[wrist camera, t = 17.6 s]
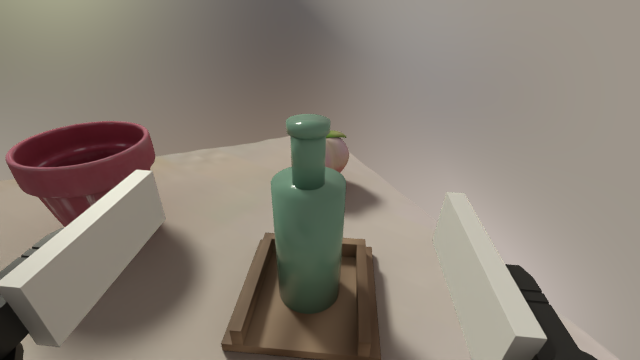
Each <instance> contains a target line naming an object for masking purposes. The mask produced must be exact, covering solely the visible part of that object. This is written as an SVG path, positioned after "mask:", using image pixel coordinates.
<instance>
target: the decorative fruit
mask: <svg viewBox="0 0 640 360" xmlns="http://www.w3.org/2000/svg"><path fill="white" fill-rule="evenodd" d="M339 137H345V138H346V136H345V135H344V134H342V133H341V132H338V131H330V133H329V134H328V135H327V136H326V161H325V167H328V168H331V169H334V170H336V171H338V172H339V173H340V172H341V171H342V170H343V169H344V167H345V166H346V164H347V162H348V159H349V151H348V148H347V146H346V144H345V143H344V141H343V140H342V139H341V138H339Z"/></svg>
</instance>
